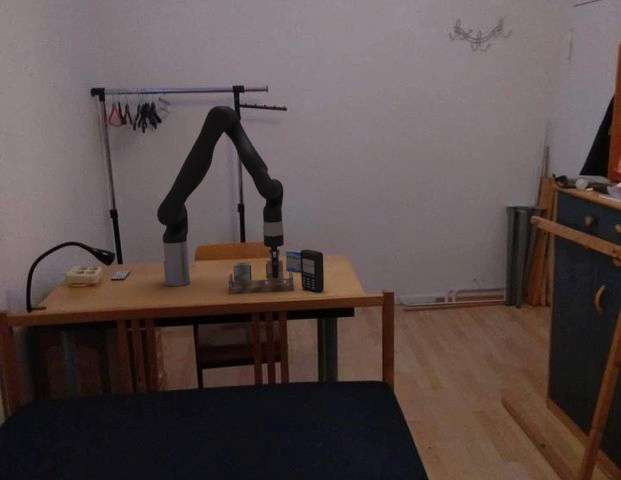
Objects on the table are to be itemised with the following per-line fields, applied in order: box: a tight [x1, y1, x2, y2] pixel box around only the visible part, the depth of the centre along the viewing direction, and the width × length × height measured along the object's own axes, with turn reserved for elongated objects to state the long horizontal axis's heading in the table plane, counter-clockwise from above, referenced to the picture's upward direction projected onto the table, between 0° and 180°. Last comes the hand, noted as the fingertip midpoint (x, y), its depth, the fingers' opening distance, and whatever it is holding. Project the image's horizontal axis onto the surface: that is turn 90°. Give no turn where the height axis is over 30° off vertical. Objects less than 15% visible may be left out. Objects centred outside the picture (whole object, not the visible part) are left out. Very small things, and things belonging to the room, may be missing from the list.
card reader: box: [300, 248, 325, 293], centre depth 219 cm, size 9×4×15 cm, turn 44°
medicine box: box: [285, 249, 302, 273], centre depth 248 cm, size 8×4×9 cm, turn 62°
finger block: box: [265, 259, 285, 284], centre depth 224 cm, size 6×4×8 cm, turn 95°
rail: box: [227, 262, 295, 295], centre depth 224 cm, size 24×10×10 cm, turn 95°
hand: (275, 274), depth 224 cm, fingers open, 8 cm apart
